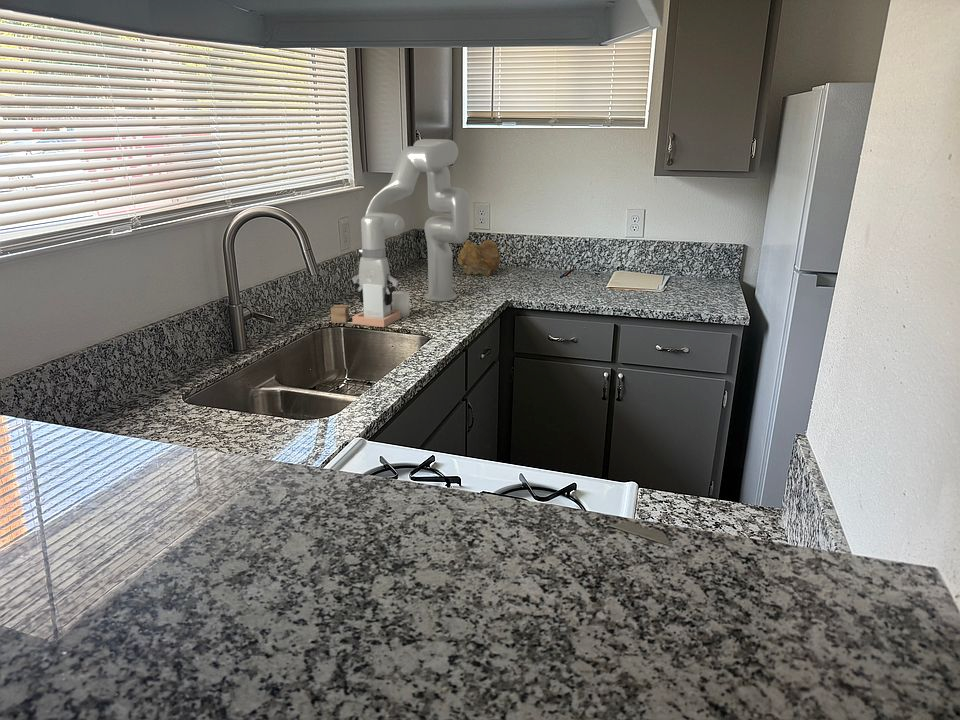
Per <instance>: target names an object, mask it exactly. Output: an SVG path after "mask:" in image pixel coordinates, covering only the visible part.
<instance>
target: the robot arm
mask: <svg viewBox="0 0 960 720" xmlns="http://www.w3.org/2000/svg"><path fill="white" fill-rule="evenodd" d="M458 157H459V146H458V145H457V143H456V142H455V141H453V140H451V139H441V138H423V139H421V138H420V139H418V140H416V141H415V142H414V143H413V146H412V145H408V146H406V147H404V148H403V149H402V150H401V152H400V154H399V157H398V158H397V159H398V160H397V162H396V164H395V167H394V170H393V172H392V174H391V179H390V181H389V182H388V184H386V185H385V186H384V187H382V188H381V189H380V190H379V191H378V192H377V193H376V194H375V195H373V198H371V200H370V202H369V203H368V206H367V208H366V212H365V215H364V216H363V217H362V218H361V220H360V227H361V228H360V230H361V249H359V252H358V253H359V254H362V256H361V257H360V259H359V265H358V274H357V275H354V276H352V277H351V280H352V282H353V284H354V287H355V288H356V289H357V291H358V292H359V300H360V303H361V304H363V285H364V284H370V285H380V286H382V287H383V288H384V290H385V291H386V293H387V294H385V303H386V305H387V306H388V305H390V304H391V303H392V292H395V290H396V289H397V287H398V285H399V280H398V279H396V278H394V277H393V276H391V272H390V271H391V270H390V266H389V265H390V263H389V260H388V257H386V240H385V238H386V237H397V236H399V235H401V234H402V233H403V232H404V230H405V226H406V225H405V220H404V218H403V217H402V216H401V215H399V214H396V213H387V212H384V211H385V210H386V209H387V208H388V207H389V206H390V205H392V204H393V203H395V202H398V201H401V200H403V199H405V198H407V197H409V196H411V195H412V194H413V192H414V190H415V187H416V184H417V181H418V178H419V176H420V174H421V173H422V172H424V173H425V172H426V178H427V204H428V207H429V210H431V211H432V212H434V213H438V214H439V213H441V214H451V215H452V216H444V215H443V216H442V215H435V216H431V217H429V218H428V219H426V221H425V223H424V234H425V239H426V248H427V279H428V280H427V285H428V288H427V289H428V291H427V293H425V294H424V299H425V300H427V301H430V302H449V301H454V300H457V298H458V297H457V294H456V293H454V290H455V287H456V286H455V284H454V282H453V280H454V279H453V278H454V276H453V269H454V268H453V265H454V264H453V263H454V262H453V251H452V248H451V246H450V244H460V245H461V244H464V243H466V241H468V239H469V236H470V231H471V230H470V227H471V226H470V224H471V223H470V222H471V221H470V220H471V219H470V217H471V216H470V215H471V214H470V213H471V212H470V211H471V205H470V197H469V194H468V192H467V191H466V190H465V189H463V188H462V187H461V188H460V187H452V186H451V173H450V170H449V167H450V166H451V165H453V164H454V163H455V162H456V160H457V159H458ZM391 283H392V285H391ZM453 289H454V290H453Z"/></svg>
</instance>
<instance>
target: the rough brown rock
mask: <svg viewBox="0 0 960 720" xmlns="http://www.w3.org/2000/svg"><path fill="white" fill-rule="evenodd" d="M464 243H465V244H464V246H463V247H462V248H461V249H460V251H459V254H458V257H457V263H458V264H459V265H460V266H461V267H462V269H463V271H464V273H465V274H466V275H472V274H473V275H480V274H481V275H482V276H486V277H489V276H491V275H492V274H493V273H494V272H496V271H497V270H498V268H499V266H500V264H501V255H500V250H499V249H498V245H497V243H496V242H495V241H493V240H489V239H485V240H484V241H482V243H481V244H479V245H477V244H476V245H475V244H474V243H473V242H472V241H471V240H466V242H464Z"/></svg>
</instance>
